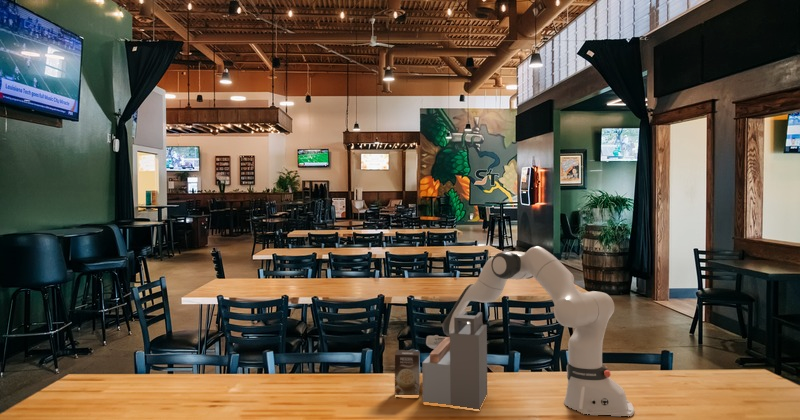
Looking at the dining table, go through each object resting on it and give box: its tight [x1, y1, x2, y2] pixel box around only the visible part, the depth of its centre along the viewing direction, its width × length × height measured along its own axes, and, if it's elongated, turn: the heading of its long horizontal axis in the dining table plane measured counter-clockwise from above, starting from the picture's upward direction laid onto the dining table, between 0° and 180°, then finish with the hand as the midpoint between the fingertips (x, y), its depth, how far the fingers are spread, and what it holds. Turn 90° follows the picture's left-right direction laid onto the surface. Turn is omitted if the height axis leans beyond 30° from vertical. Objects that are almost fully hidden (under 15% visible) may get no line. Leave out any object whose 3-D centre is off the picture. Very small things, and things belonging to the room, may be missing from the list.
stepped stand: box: [421, 310, 488, 411], centre depth 186 cm, size 20×16×32 cm
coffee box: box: [394, 349, 421, 396], centre depth 191 cm, size 9×6×16 cm
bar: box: [429, 336, 450, 363], centre depth 192 cm, size 3×24×3 cm, turn 161°
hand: (447, 338), depth 200 cm, fingers open, 8 cm apart
